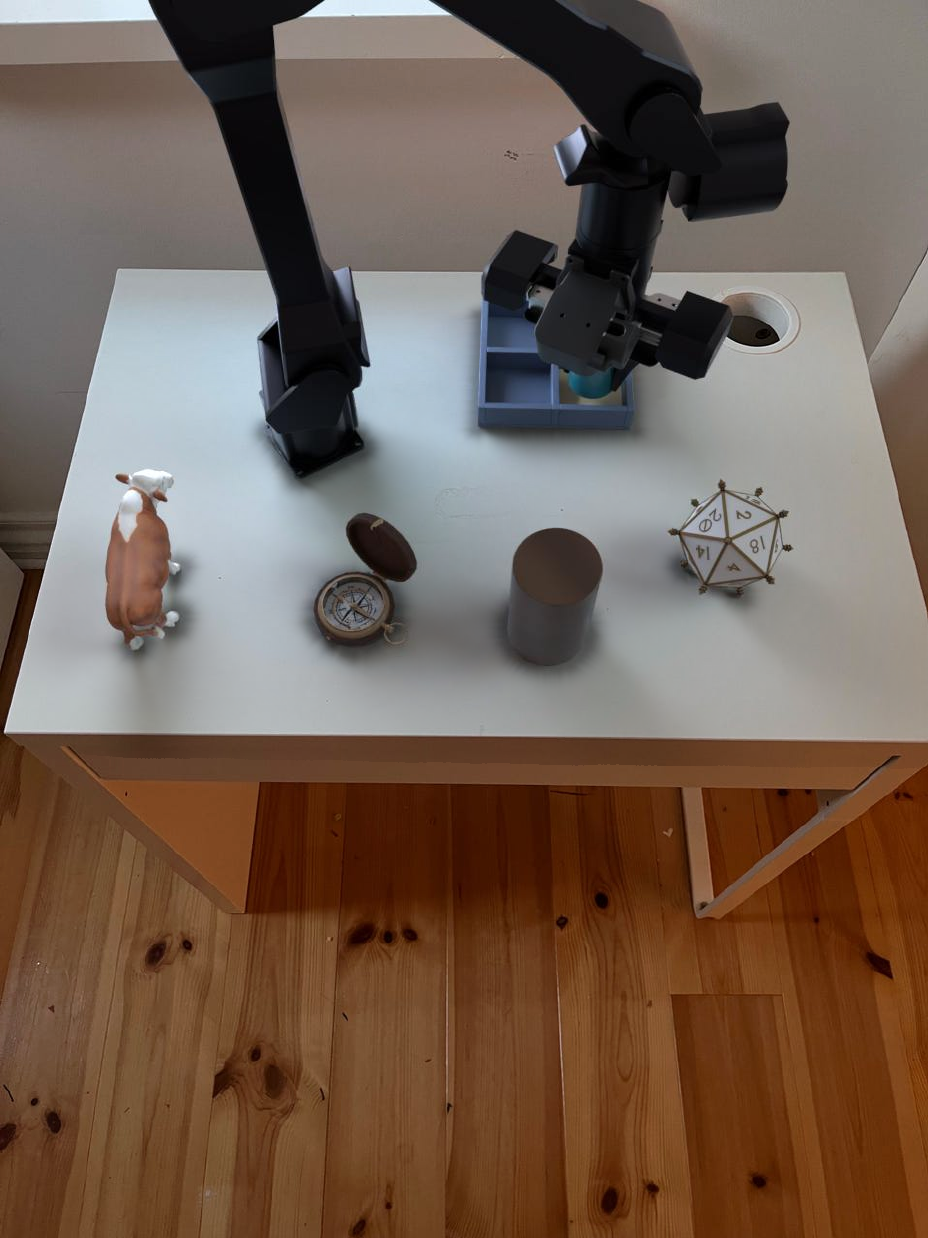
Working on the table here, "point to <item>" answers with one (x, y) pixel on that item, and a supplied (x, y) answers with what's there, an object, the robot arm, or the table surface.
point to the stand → (553, 595)
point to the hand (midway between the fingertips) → (591, 378)
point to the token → (592, 384)
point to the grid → (536, 382)
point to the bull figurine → (139, 559)
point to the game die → (732, 539)
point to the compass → (366, 584)
